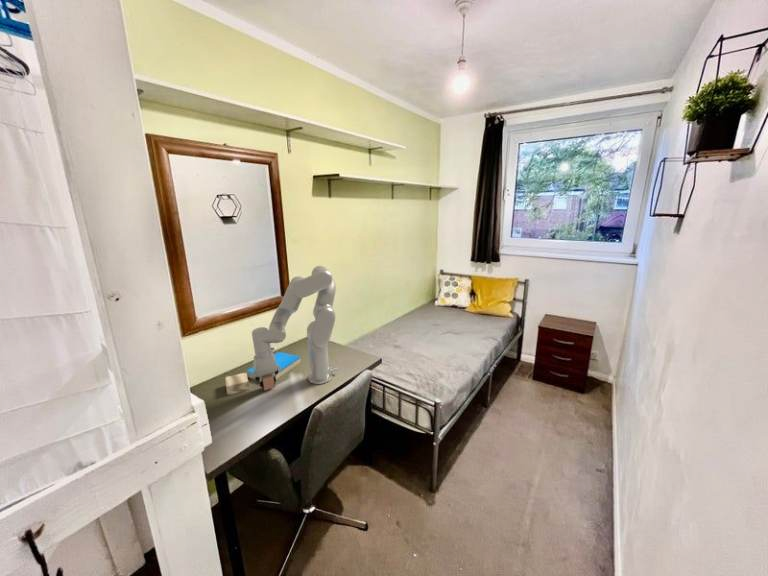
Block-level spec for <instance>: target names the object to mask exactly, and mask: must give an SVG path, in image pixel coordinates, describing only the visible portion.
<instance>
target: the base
mask: <svg viewBox="0 0 768 576" xmlns="http://www.w3.org/2000/svg"><path fill="white" fill-rule="evenodd" d="M224 378H225V388H226V395H227V396H230V395H235V394H238V393H242V392H246V391H250V383H249V379H248V378H249V377H247V372H241V373H237V374H233V375H227V376H225V377H224Z"/></svg>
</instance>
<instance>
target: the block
mask: <svg viewBox="0 0 768 576" xmlns="http://www.w3.org/2000/svg"><path fill="white" fill-rule="evenodd" d="M262 381H263V385H264V389H263V390H264V391H266V390H267V391H268V390H270V389H273V388H275V387H276V383H275V384H274V377H273V375H272V373H270V374H267V375H264V376H262Z"/></svg>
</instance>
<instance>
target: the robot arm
mask: <svg viewBox="0 0 768 576" xmlns="http://www.w3.org/2000/svg"><path fill="white" fill-rule="evenodd" d="M336 291H337V290H336V282H335V278H334V276H333V274H332V273H331V272H330V271H329V269H327V268H326V267H325V266H323V265H317V266H315V267H314V268H313V269H312V271H311V275H309V276H307V277H305V278H304V277H302V276H295V277H293V278H292V279H291V280H290V282H289V284H288V286H287V288H286V290H285V293H284V295H283V298H282V299H281V302H280V304H279V305H278V307H277V309H276V310H275V313H274V315H273V317H272V319H271V321H270V324H269V327H264V326H263V327H262V326H261V327H256V328H254V329H252V332H251V337H252V343H253V349H254V356H253V367H254V371H253V373H252V375H251V378H250V379H252V380H255V381H257V382H259V386H260V388H261V389H263V390H264V385H263V381H262V376H264V375H267V374H270V373H272V375H273V377H274V384H275V385H276V382H277V379H276V375H277V374H278V372H279V371H280V370H281V367H280V366H279V365H277V364H276V361H275V357H274V352H273V351H275V347H272V346H271V345H272V344H280V343H283V342H284V340H286V337H287V333H286V329H285V328H286V326H287V323H288V321H289V319H290V317H291V316H292V315H293V314H294V313H296V312H297V311H298V309H299V307H300V305H301V303H302V301H303V299H304V298H306V297H309V296H312V295H314V294H315V293H317V296H316V300H315V303H314V307H313V311H312V313H313V314H312V315H313V317H314V320H313V321H311V322H310V323H309V324H308V326H307V327H306V337H307V345H308V352H309V355H308V356H309V365H310V366H309V367H310V374H308V376H307V379H308V382H309V383H311V384H314V385H322V384H325V383H328V382H330V381H331V380H332V378H333V373H334V372H338V369H339V368H338V366H337V367H334V366H330V365H329V364H330V363H329V352H328V351H329V349H328V348H329V347H328V343H329V342H330V340H331V337H332V334H333V329H334V327H335V322H336V312H335V310H334V309H333V305H334V300H335V295H336ZM255 375H256V376H255Z"/></svg>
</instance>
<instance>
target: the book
mask: <svg viewBox="0 0 768 576" xmlns="http://www.w3.org/2000/svg"><path fill="white" fill-rule="evenodd" d="M273 354H274V353H273ZM274 357H275V361H276V364H277V365H279V366H280V367H281V370H280V371H279V372H278V374H277V375H276V380H277V379H279V378H280V377H281V376H283V375H285V374H286V373H288V372H289V371H290V370H292V369H293V368H295V367H297V366H298V365H299V364H300V363H301V361H302V360H301V358H302V356H300V355H299V356H298V355H294V354H290V353H286V352H281V351H278V352H276V353H275V354H274ZM253 371H254V366H252V367H251V368H250V369H247V370H246V372H247V377H248V378H249V379H252V378H251V375H252V373H253ZM246 372H245V373H246ZM255 376H256V375H255Z"/></svg>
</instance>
